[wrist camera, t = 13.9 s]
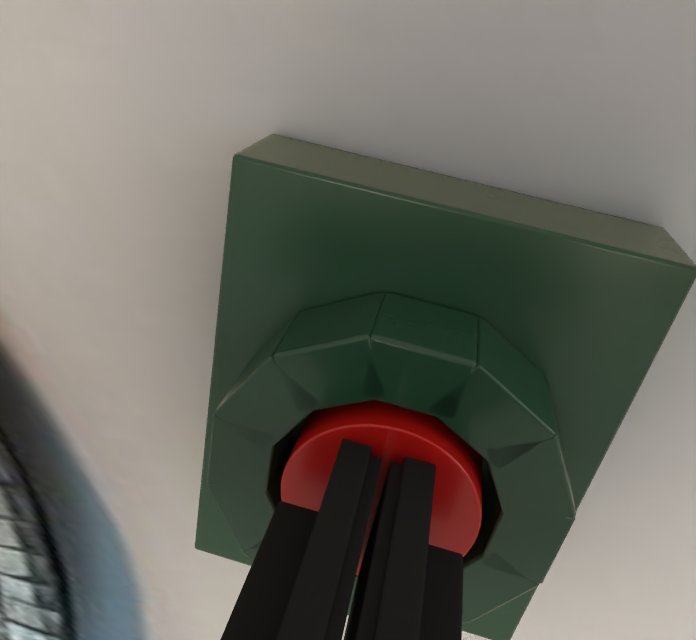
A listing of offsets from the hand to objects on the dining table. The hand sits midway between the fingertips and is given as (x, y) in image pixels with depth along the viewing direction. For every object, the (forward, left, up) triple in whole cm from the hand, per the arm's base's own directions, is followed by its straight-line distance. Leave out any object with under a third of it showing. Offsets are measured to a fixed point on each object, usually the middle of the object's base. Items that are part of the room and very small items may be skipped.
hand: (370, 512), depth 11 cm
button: (0, 0, -2) cm, 2 cm away
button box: (0, 0, -4) cm, 4 cm away
